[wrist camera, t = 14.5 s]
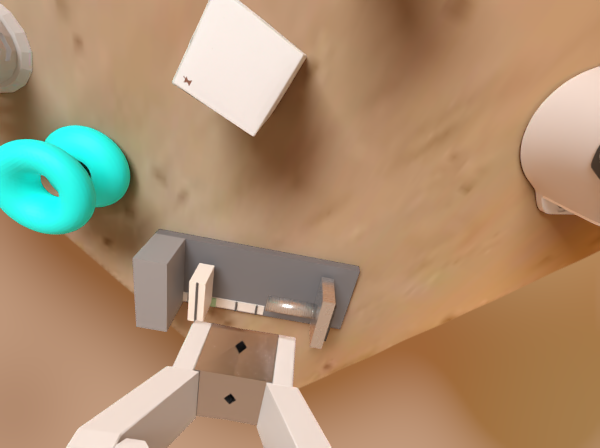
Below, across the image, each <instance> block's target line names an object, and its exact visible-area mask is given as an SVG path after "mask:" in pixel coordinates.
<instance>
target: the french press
mask: <svg viewBox="0 0 600 448" xmlns="http://www.w3.org/2000/svg"><path fill="white" fill-rule="evenodd" d="M31 73H32V51H31V48H30V45H29V42H28V40H27V37H26V34H25V32H24V30H23V29H22V27H21V26H20V25H19V23H18V22H17V20H16V19H15V17H14V16H13V15H12V13H11V12H10V11H9V10H7V9H6V8H5V7H4V6H3V5H1V4H0V93H10V92H15V91H17V90H18V89H20V88H22V87H23V86H25V85H26V83H27V81H28V79H29V77H30V75H31Z"/></svg>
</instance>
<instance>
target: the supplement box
mask: <svg viewBox="0 0 600 448" xmlns="http://www.w3.org/2000/svg"><path fill="white" fill-rule="evenodd" d="M306 57H307V55H306V54H305V53H303V52H302V51H301V50H300V49H298V48H297V47H296V46H294V45H293V44H292V43H291V42H289V41H288V40H287V39H286V38H285V37H284V36H282V35H281V34H280V33H279V32H278V31H276V30H275V29H274V28H273V27H271V26H270V25H269V24H268V23H267V22H265V21H264V20H263V19H262V18H260V17H259V16H258V15H257V14H255V13H254V12H253V11H252V10H250V9H249V8H248V7H247V6H245V5H244V4H243V3H242V2H240V1H239V0H209V1H208V4H207V6H206V8H205V10H204V13H203V15H202V17H201V19H200V21H199V24H198V26H197V28H196V30H195V32H194V34H193V36H192V38H191V40H190V43H189V46H188V48H187V50H186V52H185V55H184V57H183V59H182V61H181V63H180V66H179V68H178V70H177V72H176V74H175V76H174V78H173V80H172V83H173V84H174V85H175V86H177V87H179V88H180V89H182V90H183V91H185V92H186V93H188V94H189V95H191V96H192V97H194V98H195V99H197V100H198V101H200V102H202V103H203V104H205V105H206V106H208V107H209V108H211V109H212V110H214V111H215V112H217V113H218V114H220V115H221V116H223V117H224V118H226V119H227V120H229V121H230V122H232V123H233V124H235V125H236V126H238V127H239V128H241V129H242V130H244V131H245V132H247V133H248V134H250V135H251V136H255V135H256V134H257V132H258V131H259V130H260V128H261V127H262V126H263V124H264V123H265V122H266V121H267V119H268V118H269V117H270V116H271V114H272V113H273V111H274V110H275V108H276V106H277V105H278V103H279V102H280V100H281V99H282V97H283V95H284V94H285V92H286V91H287V89H288V87H289V86H290V84H291V82H292V81H293V79H294V77H295V76H296V74H297V72H298V71H299V69H300V67H301V66H302V64H303V62H304V61H305V59H306Z"/></svg>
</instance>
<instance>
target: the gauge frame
mask: <svg viewBox="0 0 600 448" xmlns="http://www.w3.org/2000/svg"><path fill="white" fill-rule="evenodd" d="M199 263H203V264H208V265H214V278H213V289H212V301H211V304H210V307H217V308H223V309H229V310H234V311H240V312H246V313H251V314H255V315H256V314H257V315H263V316H268V317H274V318H280V319H285V320H291V321H297V322H302V323H308V324H310V319H311V318H305V317H299V316H294V315H288V314H282V313H277V312H271V311H265V307H266V302H267V297H268V295H269V296H275V297H280V298H286V299H291V300H297V301H302V302H308V303H313V304H315V301H316V297H317V294H318V290H319V287H320V283H321V279H322V277H325V278H330V279H334V288H335V295H336V306H337V308H336V311H335V314H334V317H333V321H332V324H331V328H337V329H340V328H341V325H342V322H343V319H344V316H345V314H346V311H347V308H348V305H349V302H350V299H351V296H352V293H353V290H354V287H355V284H356V281H357V278H358V276H359V273H360V269H359V266H355V265H349V264H344V263H338V262H333V261H328V260H322V259H317V258H312V257H306V256H301V255H296V254H290V253H285V252H280V251H274V250H269V249H264V248H258V247H253V246H248V245H242V244H237V243H232V242H226V241H221V240H215V239H210V238H205V237H199V236H194V235H189V234H183V233H178V232H173V231H167V230H162V229H159V230H158V231H157V232H156V233H155V234H154V235H153V236H152V237H151V238H150V239H149V241H148V242H147V243H146V244H145V245H144V246H143V247H142V248H141V249H140V250H139V252H138V253H137V254H136V255H135V256H134V257H133V275H134V293H135V311H136V327H142V328H148V329H153V330H160V331H165V332H167V330H168V328H169V327H170V325H171V323H172V321H173V319H174V317H175V316H176V314H177V312H178V310H179V308H180V306H181V305H182V303H183V302H187V303H188V300H189V281H190V279H191V277H192V276H193V274H194V272H195V270H196V269H197V267H198V265H199Z"/></svg>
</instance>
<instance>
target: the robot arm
mask: <svg viewBox="0 0 600 448" xmlns="http://www.w3.org/2000/svg"><path fill="white" fill-rule="evenodd" d="M521 165H522V169H523V171H524V174H525V176H526V177H527V179H528V180H529V182H530V183H531V184H532V186H533V187H534V189H535V191H536V202H537V206H538V208H539V210H540V211H542V212H545V213H547V214H569V215H577V216H579V217H581V218H583V219H585V220H587V221H589V222H591V223H593V224H595V225H598V226H600V66H598V67H596V68H593V69H591V70H588V71H585V72H583V73H581V74H579V75H577V76H575V77H574V78H572V79H570V80H569V81H567V82H566V83H564V84H563V85H561V86H560V87H559V88H558V89H556V90H555V91H554V92H553V93H552V94H551V95H550V96H549V97H548V98H547V99H546V100H545V101H544V102H543V103H542V104H541V106H540V107H539V108H538V109H537V111H536V112H535V114H534V115H533V117H532V118H531V120H530V122H529V124H528V126H527V128H526V131H525V133H524V136H523V140H522V145H521ZM295 347H296V339H295V337H289V336H283V335H277V334H271V333H265V332H259V331H253V330H247V329H246V330H245V329H240V328H235V327H230V326H225V325H220V324H215V323H208V322H203V321H198V320H195V321H194V323H193V324H192V326H191V328H190V330H189V332H188V334H187V337H186V339H185V341H184V343H183V345H182V348H181V349H180V352H179V354H178V356H177V358H176V360H175V363H174V365H173V367H170V366H167V367H165V368H164V369H162V370H161V371H159V372H158V373H157V374H155V375H154V376H152V377H151V378H149V379H148V380H147V381H145V382H144V383H142V384H141V385H139V386H138V387H137V388H135V389H134V390H132V391H131V392H130V393H128V394H127V395H125V396H124V397H122V398H121V399H120V400H118V401H117V402H115V403H114V404H112V405H111V406H110V407H108V408H107V409H106V410H104V411H102V412H101V413H100V414H98V415H97V416H95V417H94V418H92V419H91V420H90V421H88V422H87V423H85V424H84V425H82V426H81V427H80V428H79V429H78V430H77V431H76V433H75V434H74V436H73V438H72V439H71V441H70V442H69V444H68V445H67V447H66V448H167V447H168V446H169V445H170V444H171V443H172V442H173V441H174V440H175V439H176V438H177V437H178V436H179V435H180V434H181V433H182V431H184V430H185V428H186V427H187V426H188V425H189V424H190V423H191V422H192V421H193V420H194V419H195V418H196V416H202V417H210V418H217V419H226V420H231V421H237V422H242V423H247V424H252V425H257V429H258V432H259V435H260V438H261V441H262V444H263V447H264V448H332V447H331V445H330V444H329V442H328V440H327V439H326V437H325V435H324V433H323V432H322V430H321V428H320V426H319V424H318V423H317V421H316V419H315V417H314V415H313V414H312V412H311V410H310V408H309V407H308V405H307V403H306V401H305V399H304V398H303V396H302V394H301V392H300V391H299V389H298V388H296V387H293V377H294V362H295Z"/></svg>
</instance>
